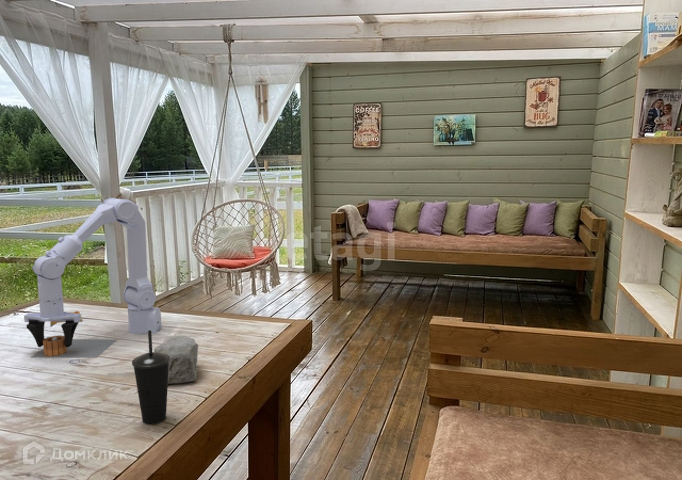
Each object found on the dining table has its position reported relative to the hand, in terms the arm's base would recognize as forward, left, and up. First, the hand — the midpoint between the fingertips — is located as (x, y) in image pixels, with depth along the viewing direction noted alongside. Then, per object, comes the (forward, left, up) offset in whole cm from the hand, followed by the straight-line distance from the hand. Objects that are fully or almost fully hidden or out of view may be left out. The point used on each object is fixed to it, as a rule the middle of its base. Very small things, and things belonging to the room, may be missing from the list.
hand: (55, 346), depth 142 cm
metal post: (0, 0, -2) cm, 2 cm away
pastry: (+12, -30, -4) cm, 32 cm away
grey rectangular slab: (-4, -4, -3) cm, 6 cm away
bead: (0, 0, -2) cm, 2 cm away
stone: (-37, +12, -4) cm, 39 cm away
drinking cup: (-39, +34, -4) cm, 52 cm away
